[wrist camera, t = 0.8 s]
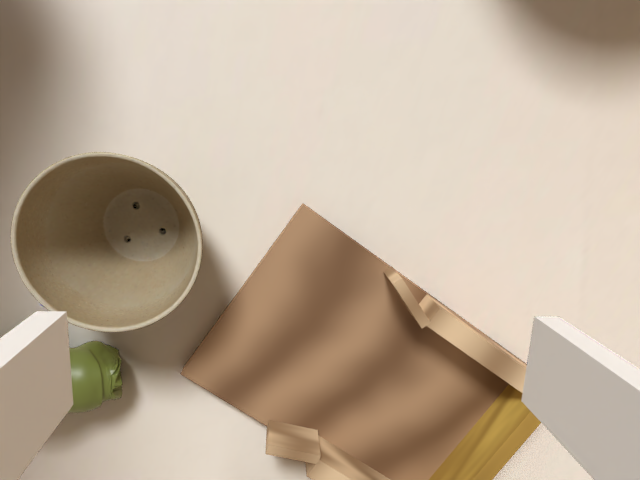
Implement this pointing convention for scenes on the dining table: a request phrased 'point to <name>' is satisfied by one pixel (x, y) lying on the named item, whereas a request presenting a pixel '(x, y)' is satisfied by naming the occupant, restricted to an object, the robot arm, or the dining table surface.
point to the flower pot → (106, 241)
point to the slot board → (361, 367)
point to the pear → (94, 375)
